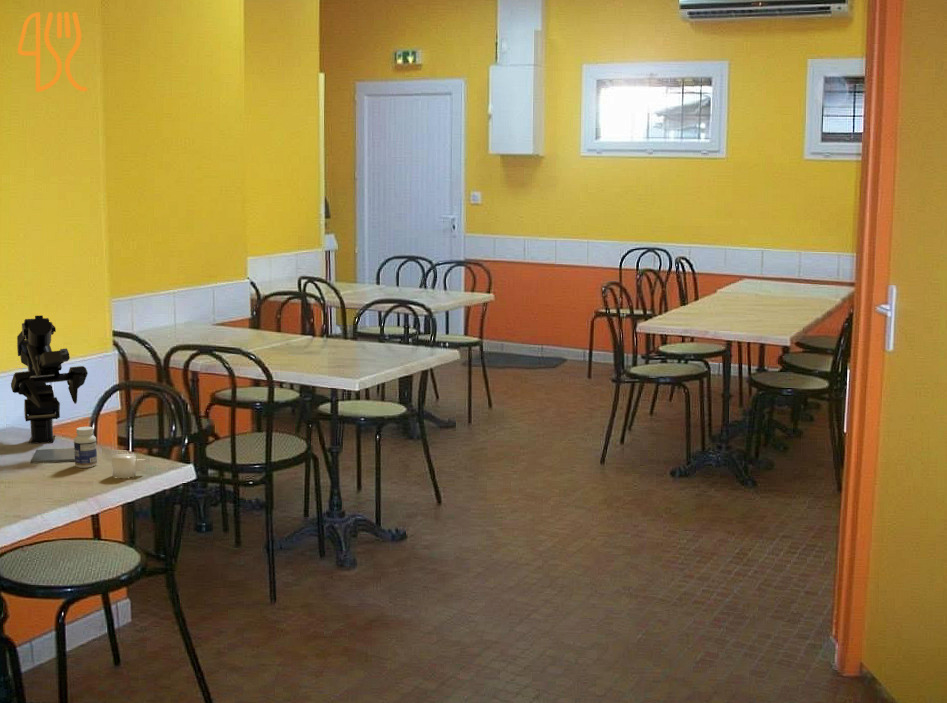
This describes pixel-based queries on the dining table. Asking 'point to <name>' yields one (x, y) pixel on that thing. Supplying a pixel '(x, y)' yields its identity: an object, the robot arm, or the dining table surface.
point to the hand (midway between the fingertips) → (58, 404)
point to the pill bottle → (85, 448)
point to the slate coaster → (53, 455)
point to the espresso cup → (126, 465)
